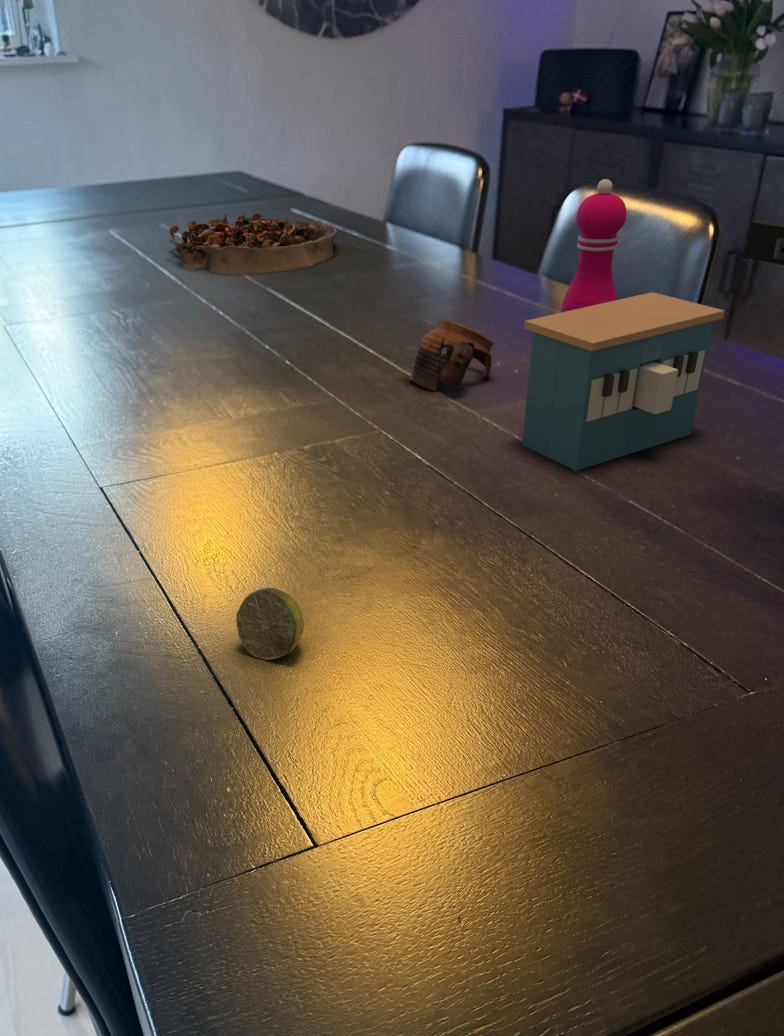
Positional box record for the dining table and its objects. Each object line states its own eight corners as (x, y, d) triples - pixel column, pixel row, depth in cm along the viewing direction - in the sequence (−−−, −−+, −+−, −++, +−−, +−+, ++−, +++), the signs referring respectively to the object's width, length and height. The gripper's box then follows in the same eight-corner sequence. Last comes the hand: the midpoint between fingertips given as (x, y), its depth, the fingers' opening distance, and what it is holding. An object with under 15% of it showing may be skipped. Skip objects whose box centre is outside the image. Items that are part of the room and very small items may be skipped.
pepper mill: (624, 343, 124) (649, 178, 112) (587, 355, 120) (609, 186, 109) (582, 332, 129) (602, 172, 118) (545, 342, 126) (562, 179, 114)
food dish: (169, 246, 195) (165, 205, 191) (325, 238, 197) (325, 198, 193) (167, 278, 165) (162, 231, 161) (350, 268, 168) (350, 222, 164)
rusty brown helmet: (397, 377, 118) (425, 314, 116) (462, 406, 120) (491, 345, 118) (416, 382, 107) (447, 313, 104) (488, 415, 109) (520, 347, 106)
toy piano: (699, 435, 97) (725, 310, 90) (575, 474, 90) (592, 342, 83) (633, 410, 104) (652, 291, 97) (513, 445, 97) (524, 320, 90)
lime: (307, 664, 66) (304, 605, 63) (239, 670, 66) (233, 610, 63) (302, 630, 70) (299, 572, 67) (238, 635, 70) (232, 578, 67)
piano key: (671, 409, 90) (678, 369, 88) (654, 414, 89) (662, 373, 87) (638, 397, 93) (644, 358, 91) (622, 402, 92) (628, 362, 90)
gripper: (988, 373, 58) (688, 298, 76) (1098, 336, 63) (794, 274, 81) (1035, 246, 54) (707, 198, 71) (1150, 217, 59) (817, 179, 76)
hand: (753, 238), depth 76 cm, fingers closed
